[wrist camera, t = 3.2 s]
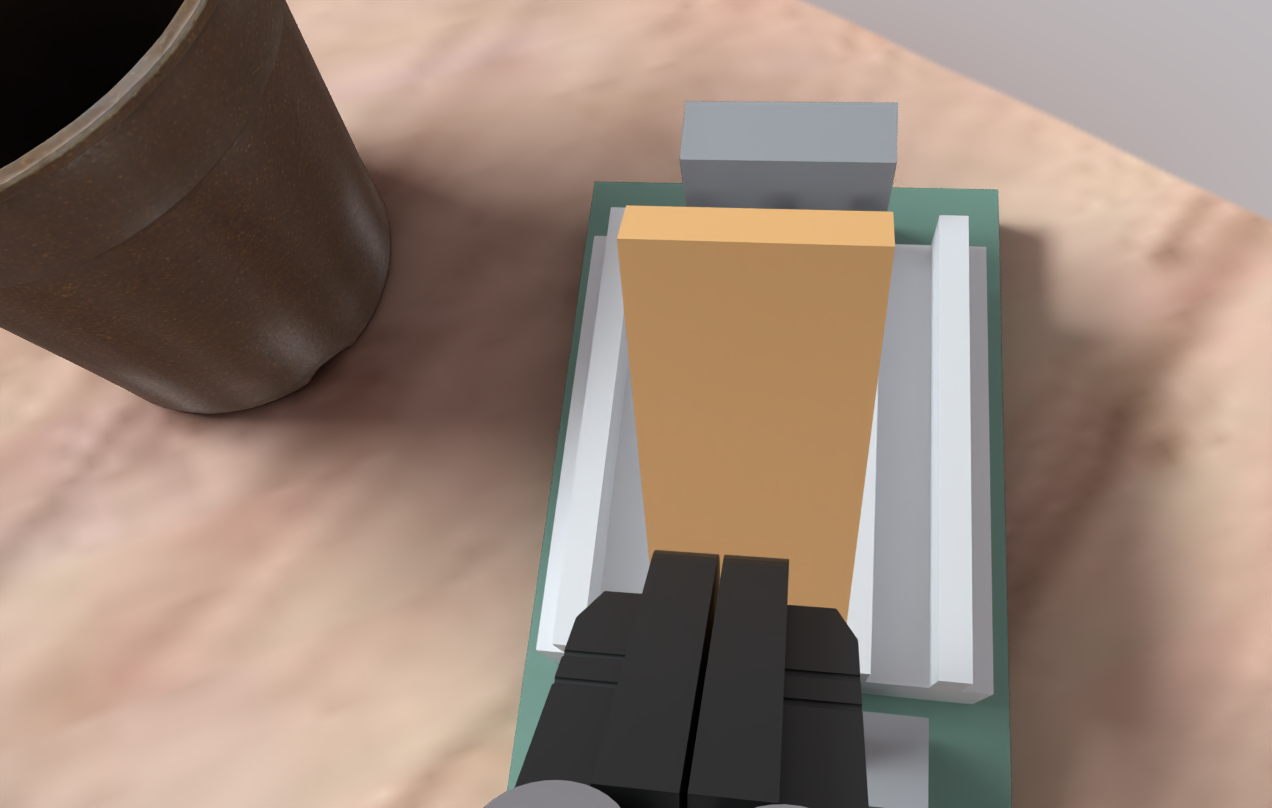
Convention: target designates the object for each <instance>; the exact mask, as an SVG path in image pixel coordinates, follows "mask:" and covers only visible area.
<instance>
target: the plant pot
mask: <svg viewBox="0 0 1272 808" xmlns="http://www.w3.org/2000/svg"><path fill="white" fill-rule="evenodd" d="M390 255H391V236H390V228H389V222H388V218H387V213H386V210H385V207H384V204H383V202H382V199H381V197H380V195H379V193H378V191H377V189H376V187H375V185H374V184H373V182H372V180H371V178H370V176H369V174H368V172H367V170H366V168H365V166H364V164H363V162H362V160H361V158H360V156H359V154H358V152H357V150H356V148H355V146H354V144H353V141H352V139H351V137H350V135H349V133H348V131H347V129H346V127H345V125H344V122H343V120H342V118H341V116H340V114H339V112H338V110H337V108H336V106H335V104H334V102H333V100H332V97H331V95H330V93H329V91H328V89H327V87H326V85H325V83H324V81H323V79H322V77H321V74H320V72H319V70H318V68H317V66H316V64H315V62H314V60H313V58H312V55H311V53H310V51H309V49H308V47H307V45H306V43H305V41H304V39H303V36H302V34H301V32H300V30H299V28H298V26H297V24H296V22H295V19H294V17H293V15H292V13H291V11H290V9H289V7H288V5H287V3H286V0H0V327H1V328H3V329H5V330H7V331H9V332H11V333H13V334H15V335H17V336H19V337H21V338H23V339H25V340H28V341H30V342H32V343H34V344H36V345H38V346H40V347H42V348H44V349H46V350H48V351H50V352H52V353H54V354H56V355H58V356H60V357H62V358H64V359H66V360H68V361H70V362H72V363H74V364H76V365H78V366H80V367H83V368H85V369H87V370H89V371H91V372H93V373H95V374H97V375H98V376H100V377H102V378H104V379H106V380H108V381H110V382H112V383H114V384H116V385H118V386H120V387H122V388H124V389H126V390H128V391H130V392H132V393H133V394H135V395H137V396H139V397H141V398H143V399H145V400H147V401H149V402H151V403H153V404H156V405H159V406H162V407H165V408H169V409H174V410H178V411H183V412H191V413H202V414H215V413H227V412H234V411H240V410H245V409H250V408H254V407H258V406H261V405H264V404H267V403H270V402H273V401H275V400H277V399H280V398H282V397H284V396H286V395H289V394H291V393H293V392H295V391H297V390H299V389H300V388H302V387H303V386H305V385H307V384H308V383H310V381H311V379H312V377H313V376H314V374H315V373H316V371H317V370H318V369H319V368H320V367H321V366H323V365H324V364H325V363H326V362H327V361H329V360H330V359H331V358H332V357H334V356H335V355H336V354H338V353H339V352H341V351H342V350H344V349H346V348H348V347H350V346H352V345H353V344H354V342H355V341H356V340H357V338H358V337H359V336H360V334H361V333H362V331H363V330H364V329H365V327H366V326H367V324H368V322H369V320H370V319H371V317H372V315H373V313H374V312H375V310H376V307H377V305H378V303H379V300H380V298H381V295H382V292H383V289H384V285H385V282H386V278H387V275H388V269H389V263H390Z"/></svg>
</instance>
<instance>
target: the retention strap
mask: <svg viewBox="0 0 1272 808" xmlns="http://www.w3.org/2000/svg"><path fill="white" fill-rule="evenodd" d="M617 246H618V256H619V266H620V276H621V286H622V296H623V306H624V316H625V326H626V336H627V346H628V355H629V365H630V375H631V385H632V395H633V405H634V415H635V425H636V435H637V445H638V455H639V465H640V474H641V484H642V494H643V504H644V514H645V524H646V534H647V544H648V554H649V564H650V562H651V559H652V555H653V552H654V551H655V550H665V551H679V552H694V553H708V554H719V556H720V577H721V571H722V564H723V558H724V555H725V554H726V555H740V556H754V557H768V558H783V559H789V578H788V602H787V605H798V606H811V607H824V608H836V609H837V610H838V612H839V613H840V614H841V616H842V617H843V619H844V620H845V622H846V623H847V617H848V609H849V601H850V594H851V586H852V578H853V570H854V563H855V555H856V547H857V539H858V531H859V524H860V516H861V508H862V500H863V492H864V485H865V477H866V469H867V461H868V453H869V446H870V438H871V430H872V422H873V414H874V407H875V399H876V391H877V383H878V375H879V368H880V360H881V352H882V344H883V336H884V329H885V321H886V313H887V305H888V297H889V290H890V282H891V274H892V266H893V259H894V251H895V236H894V217H893V212H884V211H841V210H798V209H756V208H713V207H671V206H628V205H626V208H625V212H624V215H623V219H622V222H621V225H620V229H619V232H618V236H617Z"/></svg>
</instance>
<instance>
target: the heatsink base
mask: <svg viewBox="0 0 1272 808" xmlns="http://www.w3.org/2000/svg"><path fill="white" fill-rule="evenodd" d="M897 123H898V103H874V102H723V101H686V104H685V113H684V123H683V132H682V141H681V150H680V159H679V160H680V166H681V173H682V180H683V183H639V182H595V183H594V190H593V197H592V204H591V211H590V218H589V225H588V232H587V239H586V246H585V253H584V260H583V267H582V273H581V280H580V287H579V294H578V301H577V308H576V315H575V322H574V329H573V336H572V343H571V350H570V357H569V364H568V371H567V378H566V385H565V392H564V399H563V405H562V412H561V419H560V426H559V433H558V440H557V447H556V454H555V461H554V468H553V475H552V482H551V489H550V496H549V503H548V510H547V517H546V524H545V531H544V538H543V544H542V551H541V558H540V565H539V572H538V579H537V586H536V593H535V600H534V607H533V614H532V621H531V628H530V635H529V642H528V649H527V656H526V663H525V670H524V677H523V683H522V690H521V697H520V704H519V711H518V718H517V725H516V732H515V739H514V746H513V753H512V760H511V767H510V774H509V781H508V788H507V791H509V790H511V789H513V788H514V787H515V785H516V782H517V779H518V776H519V774H520V771H521V768H522V765H523V763H524V760H525V757H526V754H527V752H528V749H529V746H530V743H531V741H532V738H533V735H534V732H535V729H536V727H537V724H538V721H539V718H540V716H541V713H542V710H543V707H544V705H545V702H546V699H547V696H548V694H549V691H550V688H551V685H552V684H554V680H555V674H556V671H557V669H558V666H559V663H560V660H561V658H562V656H564V649H565V647H566V644H567V641H568V638H569V636H570V633H571V630H572V627H573V624H574V622H575V619H576V617H577V616H578V615H579V614H580V613H581V612H582V611H583V610H584V609H586V608H587V607H588V606H589V605H590V604H591V603H592V602H593V601H594V600H595V599H596V598H597V597H598V596H600V595H601V594H602V593H603V592H604V591H613V592H626V593H639V594H642V592H643V588H644V584H645V581H646V577H647V573H648V570H649V566H650V564H649V554H648V544H647V534H646V524H645V514H644V504H643V494H642V484H641V474H640V465H639V455H638V445H637V435H636V425H635V415H634V405H633V395H632V385H631V375H630V365H629V355H628V346H627V336H626V326H625V316H624V306H623V296H622V286H621V276H620V266H619V256H618V246H617V236H618V232H619V229H620V225H621V222H622V219H623V215H624V212H625V208H626V205H628V206H671V207H713V208H756V209H798V210H841V211H884V212H893V217H894V236H895V251H894V259H893V266H892V274H891V282H890V290H889V297H888V305H887V313H886V321H885V329H884V336H883V344H882V352H881V360H880V368H879V375H878V383H877V391H876V399H875V407H874V414H873V422H872V430H871V438H870V446H869V453H868V461H867V469H866V477H865V485H864V492H863V500H862V508H861V516H860V524H859V531H858V539H857V547H856V555H855V563H854V570H853V578H852V586H851V594H850V601H849V609H848V617H847V625H848V626H849V627H850V629H851V630H852V632H853V633H854V635H855V636H856V638H857V639H858V646H859V661H860V682H861V693H862V712H863V724H864V740H865V756H866V772H867V787H868V803H869V808H1012V805H1011V759H1010V713H1009V667H1008V621H1007V575H1006V529H1005V483H1004V437H1003V391H1002V345H1001V299H1000V253H999V207H998V190H994V189H944V188H893V187H892V185H893V180H894V174H895V169H896V164H897Z"/></svg>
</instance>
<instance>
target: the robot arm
mask: <svg viewBox="0 0 1272 808" xmlns="http://www.w3.org/2000/svg"><path fill="white" fill-rule="evenodd" d="M788 578H789V559H783V558H768V557H754V556H740V555H726V554H725V555H724V558H723V564H722V571H721V577H720V556H719V554H708V553H694V552H679V551H665V550H655V551H654V552H653V555H652V559H651V562H650V566H649V570H648V573H647V577H646V581H645V584H644V588H643V592H642V594H639V593H626V592H613V591H604V592H603V593H602V594H601V595H600V596H598V597H597V598H596V599H595V600H594V601H593V602H592V603H591V604H590V605H589V606H588V607H587V608H586V609H584V610H583V611H582V612H581V613H580V614H579V615H578V616H577V617H576V619H575V622H574V624H573V627H572V630H571V633H570V636H569V638H568V641H567V644H566V647H565V649H564V656H562V658H561V660H560V663H559V666H558V669H557V671H556V674H555V680H554V684H552V685H551V688H550V691H549V694H548V696H547V699H546V702H545V705H544V707H543V710H542V713H541V716H540V718H539V721H538V724H537V727H536V729H535V732H534V735H533V738H532V741H531V743H530V746H529V749H528V752H527V754H526V757H525V760H524V763H523V765H522V768H521V771H520V774H519V776H518V779H517V782H516V785H515V787H514V788H513V789H511V790H509V791H507V792H504V793H503V794H501V795H500V796H498V797H496V798H495V799H493V800H492V801H491V802H489V803H488V804H487V805H486V806H485V807H484V808H869V803H868V787H867V772H866V756H865V740H864V724H863V712H862V693H861V682H860V661H859V646H858V639H857V638H856V636H855V635H854V633H853V632H852V630H851V629H850V627H849V626H848V625H847V623H846V622H845V620H844V619H843V617H842V616H841V614H840V613H839V612H838V610H837V609H836V608H824V607H811V606H798V605H787V602H788Z"/></svg>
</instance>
